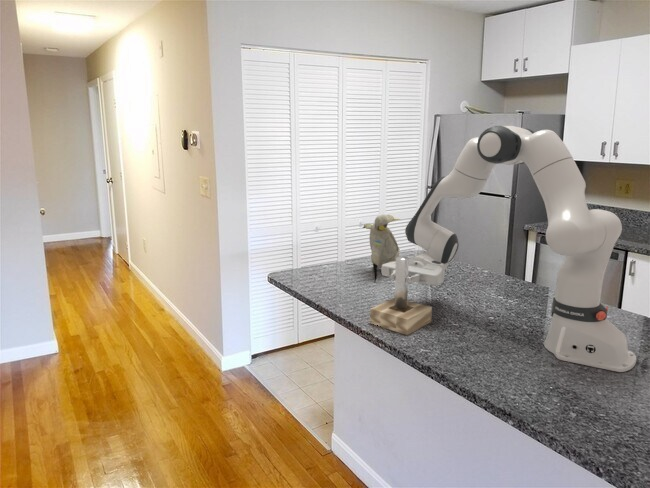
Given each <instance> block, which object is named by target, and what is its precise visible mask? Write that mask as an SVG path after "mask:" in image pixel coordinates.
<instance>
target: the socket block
mask: <svg viewBox="0 0 650 488" xmlns="http://www.w3.org/2000/svg"><path fill="white" fill-rule="evenodd" d="M394 305H395V297H394V298H390V299H389V300H387V301H385V302H382V303H380V304H377V305H375V306H374V307H371V308H370V309H369V314H370V315H369V324H370V323H371V324H370V325H373V324H374V325H375V326H377V325H378V326H377V327H380V326H381V327H380V328H383V329H387V330H389V331H393V332H397V333H399V334H403V335H405V336H408V335H410V334H411V333H414V332H416V331H418V330H419V329H420V328H422V327H424V326H426V325H428V324H430V323H431V322H432V313H433V312H432V308H433V307H432V306H429V305H425V304H423V303H422V304H421V303H418V302H413V301H409V300H407V308H405V309H398V308H395V307H394Z"/></svg>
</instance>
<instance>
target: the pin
mask: <svg viewBox="0 0 650 488" xmlns="http://www.w3.org/2000/svg"><path fill="white" fill-rule="evenodd" d="M409 260H410V258H409V257H407V256H398V257H396V270H395V280H394V298H395V305H394V307H395V308H398V309H405V308H407V301H408V296H409V295H408V291H409V289H408V288H409V283H407V282H406V277H408V267H409Z"/></svg>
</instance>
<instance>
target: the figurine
mask: <svg viewBox="0 0 650 488" xmlns="http://www.w3.org/2000/svg"><path fill="white" fill-rule="evenodd" d="M399 220H401V219H400V218H395V217H394V216H393V215H391V214H386V215H385V214H379V215H377V216H376V218H375V219H374V221H373V222H374V223H372V224H371V223H370V222H369V223H364V224H363V227H362V229H364V228H365V229H366V230H370V232H369V246H370V250H371V254H370V258H371V259H370V260H371V263H372V266H371V268H370V269H371V270H373V276H374V279H373V281H374V283H375V282H376V281H377V278H378V277H377V276H378V270H379V269H382V265H383V264H385V263H389V262H394V261H396V257H400V248H399V245H398V242H397V240H396V238H395V236H394V234H393V233H392V230H391V229H390V228H389V227H388V224H390V223H392V222H394V221H399Z"/></svg>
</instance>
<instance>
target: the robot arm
mask: <svg viewBox="0 0 650 488" xmlns="http://www.w3.org/2000/svg"><path fill="white" fill-rule="evenodd" d="M497 164H502V165H507V166H508V165H509V166H510V165H521V164H522V165H523V164H525V165H526V166H527V168H528V169H529V172H530V174H531V176H532V179H533V181H534V182H535V185H536V186H537V189H538V191H539V194H540V195H541V197H542V198H541V199H542V201H543V202H544V206H545V210H546V211H545V212H546V215H547V216H546V217H547V228H546V230H545V242H546V244H547V246H548V247H549V249H550V250H552V251H553V253H555V254H557V255H560V256H565V258H564V260H563V262H562V264H561V265H560V267H559V268H558V270H557V274H556V275H557V276H556V283H555V284H556V285H555V292H554V297H553V298H552V302H551V313H550V314H551V321H550V326H549V329H548V332H547V335H546V338H545V340H544V341H543V345H544V348H545V349H546V350H547V351H549V352H550V353H552V354H553V355H554V356H555V357H556V359H558V360H559V361H565V362H569V363H574V364H579V365H583V366H588V367H593V368H597V369H603V370H607V371H612V372H617V373H624V372H627V371H630V370H632V369H633V368H634V367H635V366H636V363H637V355H636V354H635V352H633V351H631V350H629V348H628V347H629V346H628V339H627V337H626V334H625V333H623V332H622V331H621V330H620V329H619V328H618V327H616V325H614V324H613V323H612V322H611V321H609V319H607V318H608V311H609V306H606V307H605V306H604V305H603V304H601V296H602V289H603V284H604V283H603V282H604V277H605V273H606V269H607V267H608V264H609V260H610V259H611V255H612V252H613V250H614V247H615V245H616V242H617V241H618V239H619V237H620V236H621V235H622V232H623V231H622V230H623V224H622V220H621V219H620V218H619V217H618V216H617V215H616V214H615V213H614V212H611V211H609V210H606V209H605V210H604V209H599V208H596V209H595V208H592V209H589V207H588V203H587V201H586V200H587V199H586V188H587V185H586V184H587V183H586V180H585V179H584V177H583V175H582V173H581V171H580V169H579V167H578V165H577V163H576V161H575V160H574V157H573V155H572V154H571V152H570V150H569V149H568V147H567V146H566V144H565V142H564V141H563V140H562V139H561V138H560V136H559V135H558V134H557V133H556V132H555V131H553V130H550V129H541V130H538V131H536V132H535V131H534V130H531V129H529V128H526V127H519V126H516V125H494V126H491V127H489V128H486V129H484V131H482V133H480V135H479V136H478V137H477V136H476V137H472V138H471V139H469V140H468V141H467V142H466V144H465V145H464V146H463V149H462V150H461V152H460V154H459V155H458V157H457V159H456V162H455V164H454V166H453V169H452V170H451V171H450V173H449V174H448V175H446V176H441V177H439V178H438V179H437V181H435V183H434V184H433V186H432V187H431V189H430V190H429V192H428V193H427V195H426V197H425V198H424V200H423V201H422V203H421V204H420V206H419V208H418V209H417V211H416V212H415V214H414V215H413V216H412V218H411V219H410V220H409V222H408V223H407V225H406V227H405V229H404V232H405V237H406V238H407V241H408V242H409V243H412V244H414V245H416V246H419V247H420V248H422V249H424V250H425V251H424V252H423V253H420V254H417V255H416V256H413V257H412V258H409V267H408V277H406V282H407V283H408V284H412V283H419V284H425V285H430V286H439V285H441V284H442V283H444V281H445V273H446V272H445V271H446V268H447V267H448V265H449V264H450V262H451V261H452V260H453V258H455V255H456V254H457V252H458V249H459V239H458V236H457V234H456V233H455V232H453V231H452V230H449V229H448V228H446V227H443V226H441V225H440V224H438V223H436V222H434V221H433V220H432V219H431V215H432V214H433V212H434V211H435V209H436V207H437V206H438V204H439V203H440V202H441V200H442V199H445V198H449V199H461V200H463V199H464V200H465V199H470V198H474V197H475V196H478V195H479V194H480V193H481V192H482V191H483V188H484V187H485V185H486V184H487V181H488V179H489V176H490V174H491V172H492V170H493V169H494V167H495V166H496V165H497ZM380 269H381V274H382V275H381V276H386V277H389V278H390V280H393V281H395V270H396V261H394V262H389V263H385V264H383V265H382V268H380Z"/></svg>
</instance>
